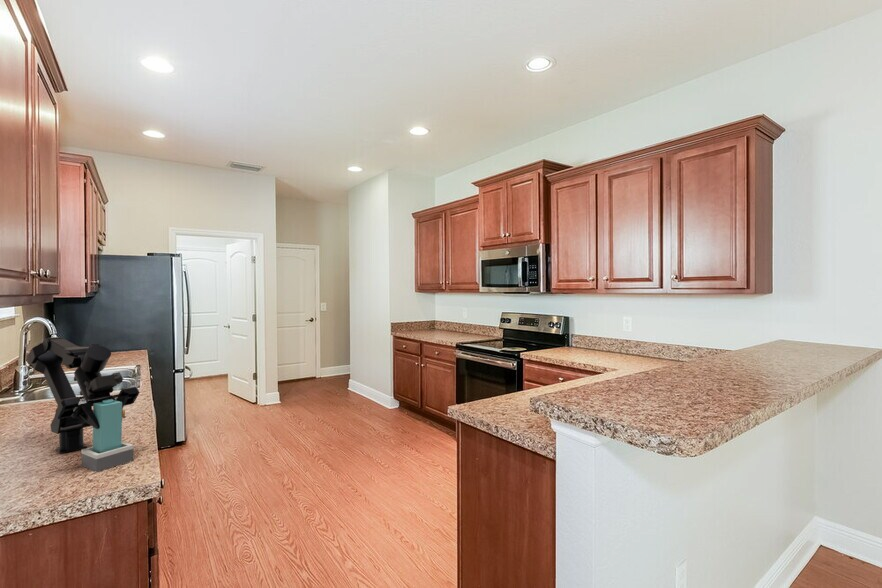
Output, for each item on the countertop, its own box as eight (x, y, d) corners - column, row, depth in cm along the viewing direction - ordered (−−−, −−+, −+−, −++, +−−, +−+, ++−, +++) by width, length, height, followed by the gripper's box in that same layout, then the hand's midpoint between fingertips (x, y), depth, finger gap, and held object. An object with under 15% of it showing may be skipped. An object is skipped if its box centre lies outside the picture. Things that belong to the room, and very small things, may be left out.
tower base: (81, 465, 121) (81, 449, 121) (118, 454, 128) (118, 439, 128) (96, 472, 116) (96, 455, 116) (133, 460, 124) (133, 445, 124)
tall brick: (92, 449, 121) (93, 400, 121) (113, 444, 126) (113, 397, 126) (100, 452, 119) (101, 403, 119) (121, 447, 123) (122, 399, 123)
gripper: (59, 370, 116) (78, 416, 111) (136, 360, 132) (155, 400, 127) (47, 395, 120) (65, 441, 115) (123, 383, 136) (142, 423, 131)
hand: (109, 425), depth 122 cm, fingers open, 5 cm apart
